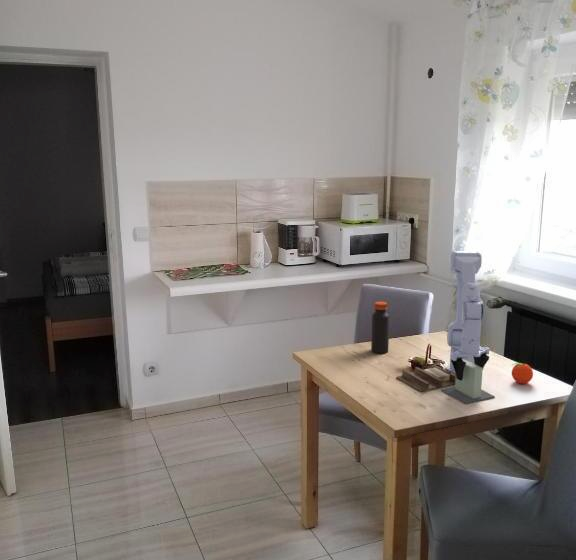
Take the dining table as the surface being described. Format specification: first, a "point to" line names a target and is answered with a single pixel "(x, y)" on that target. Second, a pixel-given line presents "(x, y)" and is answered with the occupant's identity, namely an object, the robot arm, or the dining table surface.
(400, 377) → the rack
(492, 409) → the dining table surface
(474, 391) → the sage panel
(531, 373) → the tomato
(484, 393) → the mat
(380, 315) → the bottle
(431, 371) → the offcut top
